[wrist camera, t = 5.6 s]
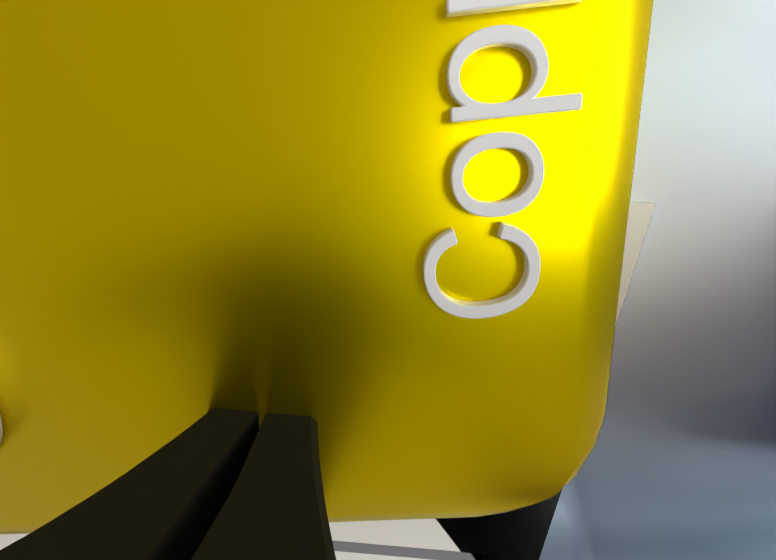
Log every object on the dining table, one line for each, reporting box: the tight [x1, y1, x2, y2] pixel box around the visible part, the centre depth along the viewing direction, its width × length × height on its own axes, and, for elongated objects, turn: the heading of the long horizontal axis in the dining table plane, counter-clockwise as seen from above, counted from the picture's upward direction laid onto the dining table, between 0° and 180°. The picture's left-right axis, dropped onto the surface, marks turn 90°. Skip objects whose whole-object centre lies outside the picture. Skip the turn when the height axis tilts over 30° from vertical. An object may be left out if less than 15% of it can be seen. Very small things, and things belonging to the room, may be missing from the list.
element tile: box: [0, 0, 653, 534], centre depth 7 cm, size 15×15×5 cm
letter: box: [0, 201, 655, 560], centre depth 13 cm, size 24×18×1 cm
